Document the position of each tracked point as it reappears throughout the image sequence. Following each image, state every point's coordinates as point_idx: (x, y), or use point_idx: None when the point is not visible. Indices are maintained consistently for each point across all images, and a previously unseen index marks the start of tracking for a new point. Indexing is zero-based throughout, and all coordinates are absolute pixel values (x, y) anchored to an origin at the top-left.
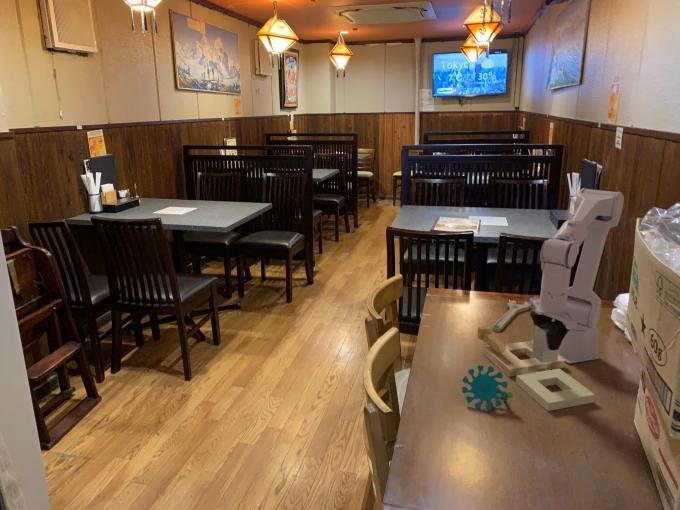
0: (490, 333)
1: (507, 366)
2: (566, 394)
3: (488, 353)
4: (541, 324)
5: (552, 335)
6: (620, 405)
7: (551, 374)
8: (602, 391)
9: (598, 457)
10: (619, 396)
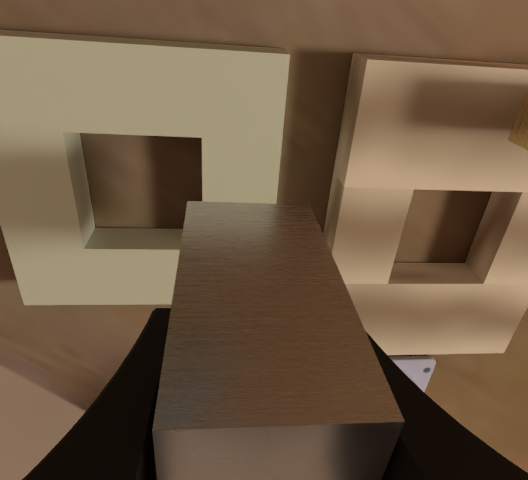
0: None
1: (399, 70)
2: (34, 193)
3: None
4: (370, 475)
5: (60, 445)
6: (11, 346)
7: None
8: (114, 349)
9: None
10: (72, 374)
